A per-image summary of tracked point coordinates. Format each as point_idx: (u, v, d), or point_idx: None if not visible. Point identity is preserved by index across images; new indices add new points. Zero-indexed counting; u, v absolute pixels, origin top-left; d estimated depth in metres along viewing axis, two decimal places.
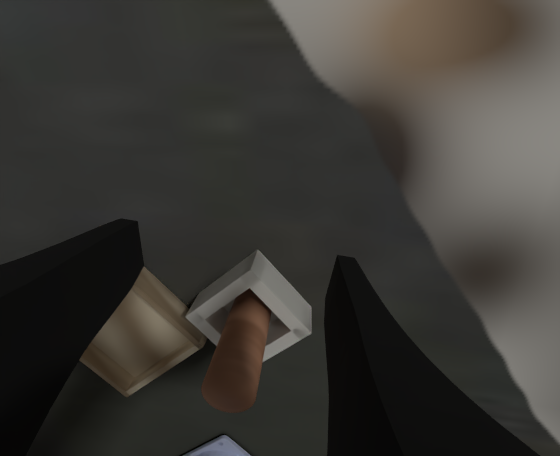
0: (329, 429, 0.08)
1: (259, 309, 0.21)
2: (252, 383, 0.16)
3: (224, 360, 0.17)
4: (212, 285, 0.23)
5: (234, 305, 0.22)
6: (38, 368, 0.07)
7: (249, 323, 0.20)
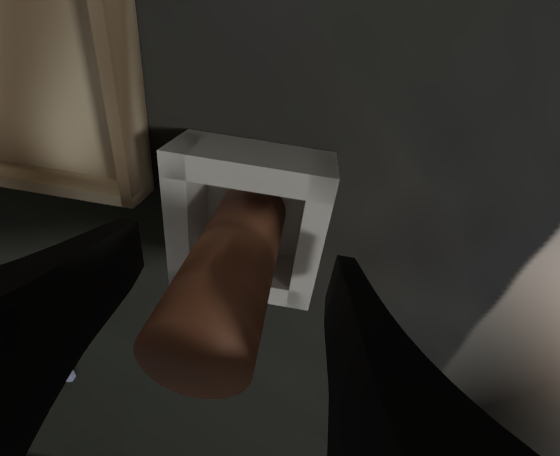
0: (329, 429, 0.08)
1: (279, 235, 0.12)
2: (251, 377, 0.08)
3: (230, 307, 0.07)
4: (226, 139, 0.13)
5: (245, 199, 0.12)
6: (38, 368, 0.07)
7: (270, 253, 0.10)
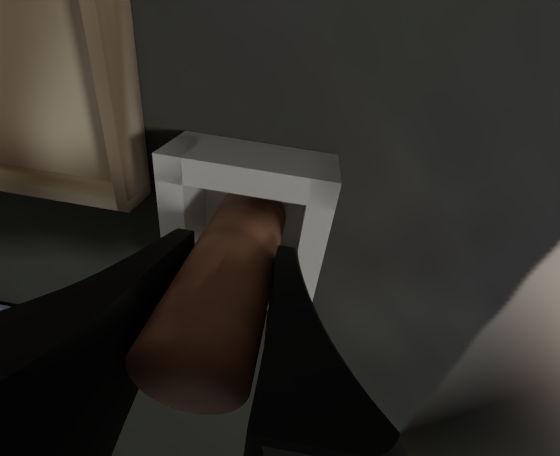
0: None
1: (279, 241, 0.12)
2: (249, 392, 0.07)
3: (227, 319, 0.07)
4: (224, 141, 0.12)
5: (243, 203, 0.12)
6: (118, 383, 0.07)
7: (269, 259, 0.10)
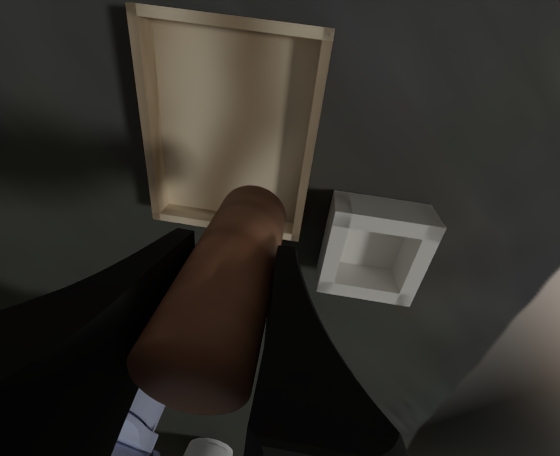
0: None
1: (279, 240, 0.12)
2: (250, 392, 0.07)
3: (225, 320, 0.07)
4: (362, 198, 0.20)
5: (242, 203, 0.12)
6: (118, 383, 0.07)
7: (269, 259, 0.10)
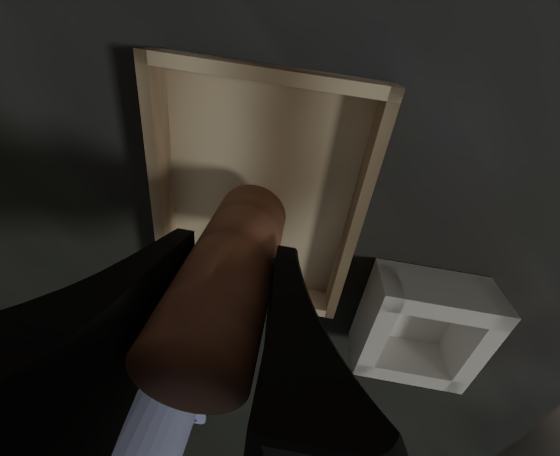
0: None
1: (278, 239, 0.12)
2: (249, 392, 0.07)
3: (224, 319, 0.07)
4: (411, 270, 0.17)
5: (242, 203, 0.12)
6: (118, 383, 0.07)
7: (268, 258, 0.10)
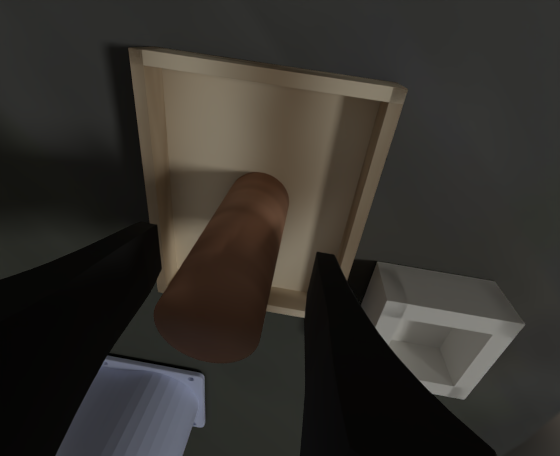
0: (303, 424, 0.08)
1: (283, 220, 0.13)
2: (259, 340, 0.09)
3: (238, 276, 0.08)
4: (413, 274, 0.16)
5: (250, 187, 0.13)
6: (66, 373, 0.07)
7: (274, 234, 0.11)
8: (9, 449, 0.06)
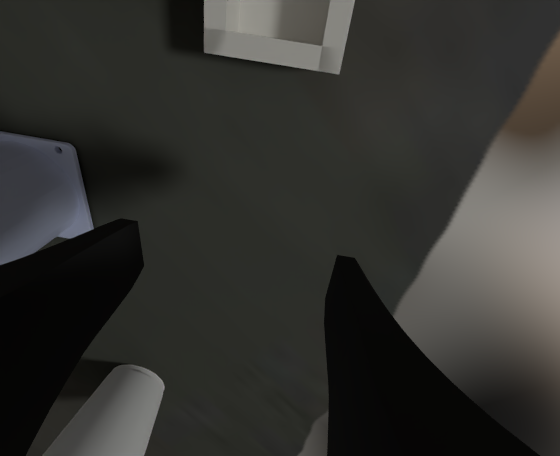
0: (329, 429, 0.08)
1: None
2: None
3: None
4: None
5: None
6: (38, 368, 0.07)
7: None
8: None
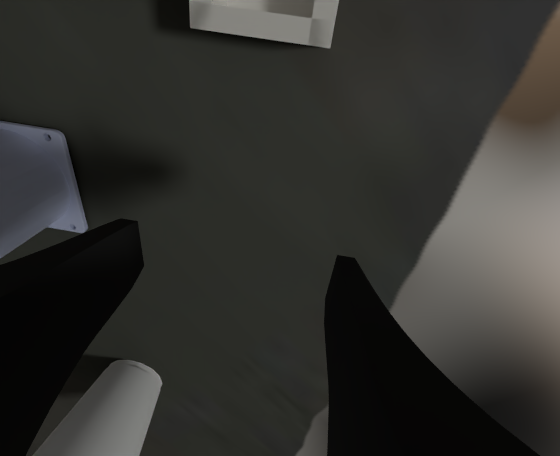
0: (329, 429, 0.08)
1: None
2: None
3: None
4: None
5: None
6: (38, 368, 0.07)
7: None
8: None
